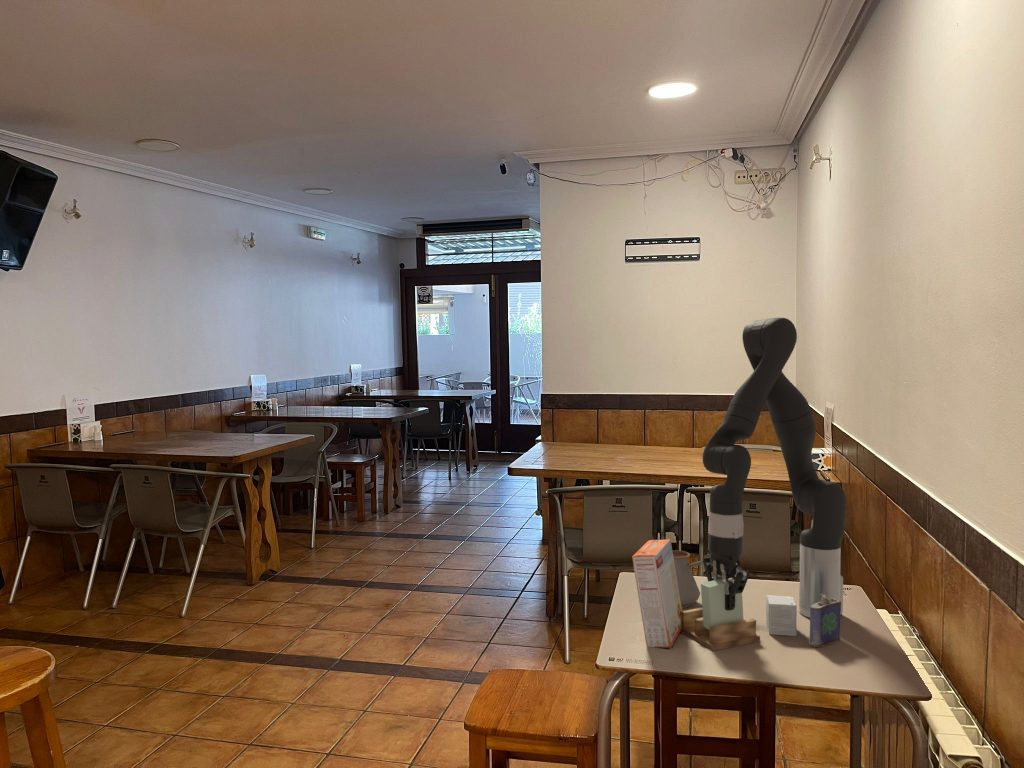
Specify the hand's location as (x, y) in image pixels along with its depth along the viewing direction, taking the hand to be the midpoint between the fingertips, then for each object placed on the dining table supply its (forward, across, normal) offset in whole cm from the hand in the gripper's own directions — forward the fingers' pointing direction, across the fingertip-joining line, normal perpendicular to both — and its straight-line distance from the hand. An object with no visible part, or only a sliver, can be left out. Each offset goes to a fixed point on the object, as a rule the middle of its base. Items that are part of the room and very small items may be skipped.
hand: (724, 607), depth 164 cm
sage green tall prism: (+4, 0, 0) cm, 4 cm away
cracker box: (+8, -7, -11) cm, 15 cm away
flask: (+8, +10, +19) cm, 23 cm away
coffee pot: (+8, -20, +8) cm, 23 cm away
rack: (+7, -2, 0) cm, 8 cm away
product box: (+8, +2, +15) cm, 17 cm away
